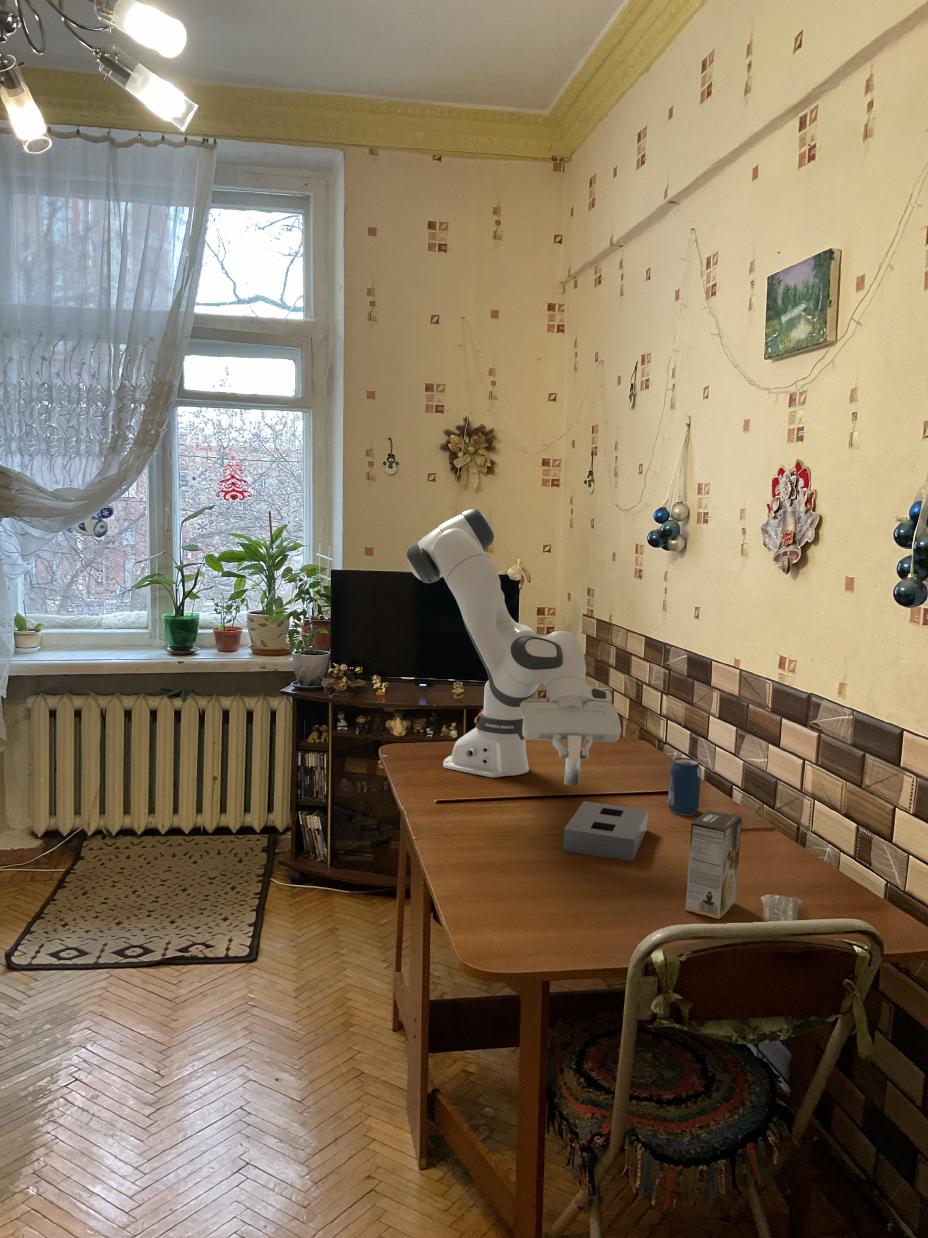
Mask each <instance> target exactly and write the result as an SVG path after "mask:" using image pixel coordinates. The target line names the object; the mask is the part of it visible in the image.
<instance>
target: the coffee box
mask: <svg viewBox="0 0 928 1238" xmlns="http://www.w3.org/2000/svg"><path fill="white" fill-rule="evenodd" d="M742 819H743V816H741V815H736V814H730V813H726V812H721V811H715V810H708V809H707V810H706V811H705V812H703V813H702V814H701V815H700V816H698V817H697V818H696V819H694V820H693V821H692V822H691V823H690V825H691V827H690V840H689V852H688V854H689V855H688V869H687V883H686V884H687V885H686V897H685V909H686V908H689V909H693V910H697V911H701V912H704V913H709V914H713V915H717V916H721V915H722V914H723V913H724V912H725V911H726V910H727V909H728V908H729V907H730V906H731V905H732V904H733V903H734V902H735V900H736V901H737V887H738V886H737V885H738V873H739V862H740V861H739V860H740V849H741V832H742V821H743V820H742ZM735 903H736V902H735Z"/></svg>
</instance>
